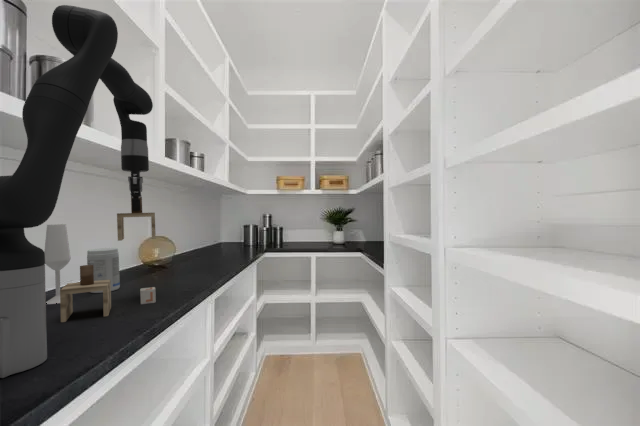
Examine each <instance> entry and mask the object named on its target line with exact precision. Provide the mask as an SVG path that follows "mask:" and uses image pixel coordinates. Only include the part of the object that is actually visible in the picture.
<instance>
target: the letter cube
mask: <svg viewBox="0 0 640 426" xmlns="http://www.w3.org/2000/svg"><path fill="white" fill-rule="evenodd" d="M139 291H140V294H139V295H140V305H146V304H154V303H157V302H156V301H157V300H156V299H157V296H156V287H155V286H152V287H142V288H140V290H139Z"/></svg>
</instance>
